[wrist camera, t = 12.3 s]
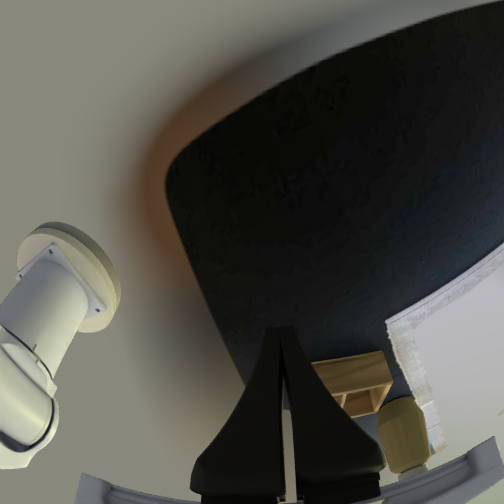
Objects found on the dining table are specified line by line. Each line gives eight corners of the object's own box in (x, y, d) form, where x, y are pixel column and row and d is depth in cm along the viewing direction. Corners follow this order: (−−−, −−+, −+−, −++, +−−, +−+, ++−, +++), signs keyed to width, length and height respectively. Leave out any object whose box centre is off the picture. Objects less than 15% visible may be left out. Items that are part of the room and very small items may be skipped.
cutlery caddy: (294, 364, 28) (298, 398, 24) (382, 349, 27) (393, 381, 24) (296, 397, 32) (298, 426, 29) (370, 385, 32) (377, 412, 28)
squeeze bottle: (375, 419, 39) (392, 506, 24) (369, 405, 35) (390, 508, 20) (417, 402, 37) (440, 488, 22) (417, 385, 33) (447, 485, 18)
